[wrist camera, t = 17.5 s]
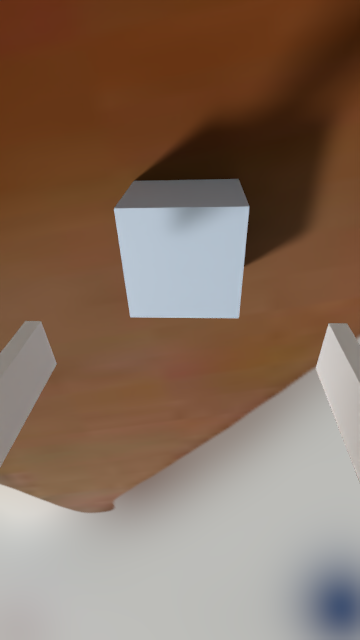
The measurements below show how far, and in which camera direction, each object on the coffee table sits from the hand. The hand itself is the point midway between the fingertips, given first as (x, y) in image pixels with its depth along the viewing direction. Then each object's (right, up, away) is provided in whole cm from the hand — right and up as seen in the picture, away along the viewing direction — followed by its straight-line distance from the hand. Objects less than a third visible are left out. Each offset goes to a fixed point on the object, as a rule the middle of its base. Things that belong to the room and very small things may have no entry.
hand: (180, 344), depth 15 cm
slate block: (0, +9, +12) cm, 15 cm away
